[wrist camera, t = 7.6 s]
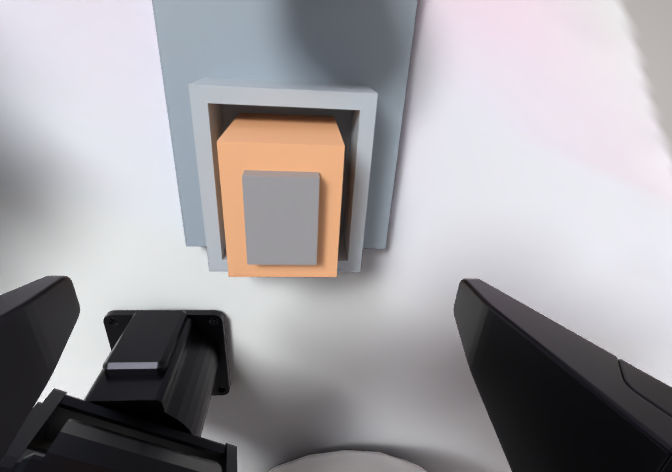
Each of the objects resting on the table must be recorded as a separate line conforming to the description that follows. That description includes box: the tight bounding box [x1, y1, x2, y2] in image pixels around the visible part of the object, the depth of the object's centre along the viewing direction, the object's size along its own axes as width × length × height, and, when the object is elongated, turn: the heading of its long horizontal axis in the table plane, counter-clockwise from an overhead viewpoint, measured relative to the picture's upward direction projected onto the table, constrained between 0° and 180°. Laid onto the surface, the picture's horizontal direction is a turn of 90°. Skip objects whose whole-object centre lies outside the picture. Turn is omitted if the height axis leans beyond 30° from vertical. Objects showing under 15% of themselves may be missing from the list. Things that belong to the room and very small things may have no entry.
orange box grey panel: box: [217, 112, 345, 277], centre depth 15 cm, size 5×4×6 cm
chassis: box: [152, 0, 418, 272], centre depth 15 cm, size 16×10×4 cm, turn 177°
